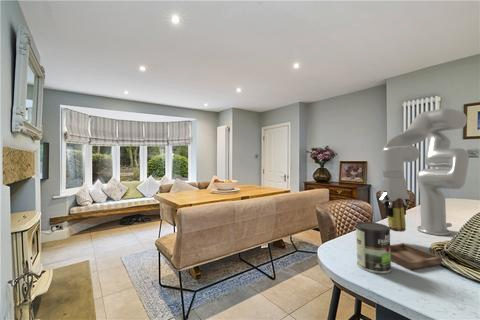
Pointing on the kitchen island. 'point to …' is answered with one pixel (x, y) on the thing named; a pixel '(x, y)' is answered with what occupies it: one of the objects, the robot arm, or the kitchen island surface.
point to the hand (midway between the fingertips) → (395, 214)
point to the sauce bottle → (397, 216)
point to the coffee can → (373, 247)
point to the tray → (413, 257)
